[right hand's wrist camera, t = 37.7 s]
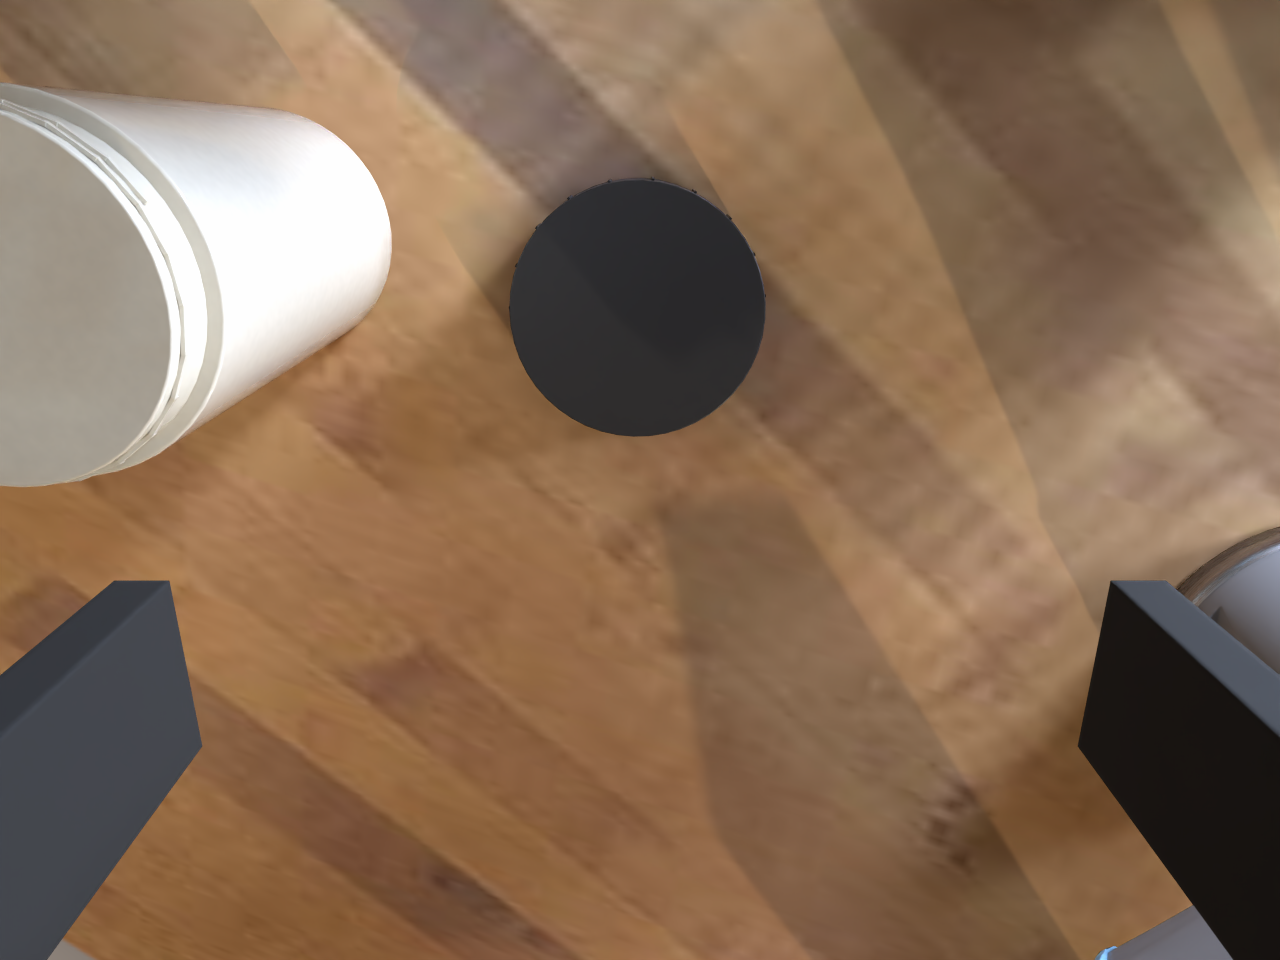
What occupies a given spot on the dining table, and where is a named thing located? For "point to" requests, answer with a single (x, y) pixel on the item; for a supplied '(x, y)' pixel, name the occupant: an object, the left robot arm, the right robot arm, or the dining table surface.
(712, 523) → the dining table surface
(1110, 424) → the dining table surface
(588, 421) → the lid
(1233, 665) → the right robot arm
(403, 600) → the dining table surface
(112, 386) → the jar
